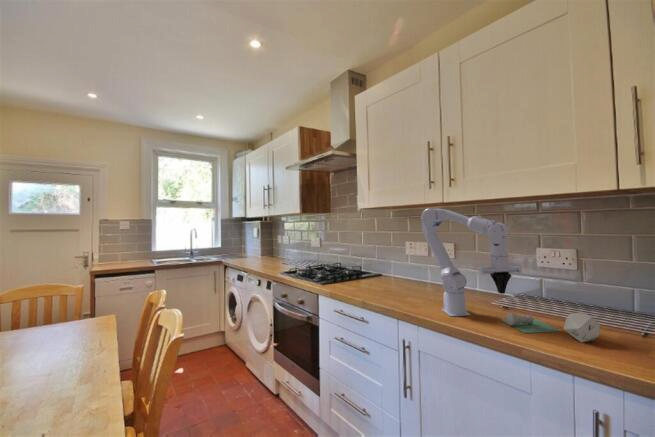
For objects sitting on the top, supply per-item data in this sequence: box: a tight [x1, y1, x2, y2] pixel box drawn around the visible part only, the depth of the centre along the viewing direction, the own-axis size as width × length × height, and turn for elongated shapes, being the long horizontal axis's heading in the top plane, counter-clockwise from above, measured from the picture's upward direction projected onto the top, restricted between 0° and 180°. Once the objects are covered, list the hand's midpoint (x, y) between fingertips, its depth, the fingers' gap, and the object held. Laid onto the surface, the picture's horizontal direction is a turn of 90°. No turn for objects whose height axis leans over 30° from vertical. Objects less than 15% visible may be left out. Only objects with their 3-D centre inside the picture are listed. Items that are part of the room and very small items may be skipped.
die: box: [563, 311, 601, 343], centre depth 92 cm, size 8×9×10 cm
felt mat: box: [500, 317, 562, 334], centre depth 106 cm, size 14×12×1 cm
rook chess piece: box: [505, 312, 534, 327], centre depth 106 cm, size 4×4×8 cm
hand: (501, 292), depth 111 cm, fingers closed
